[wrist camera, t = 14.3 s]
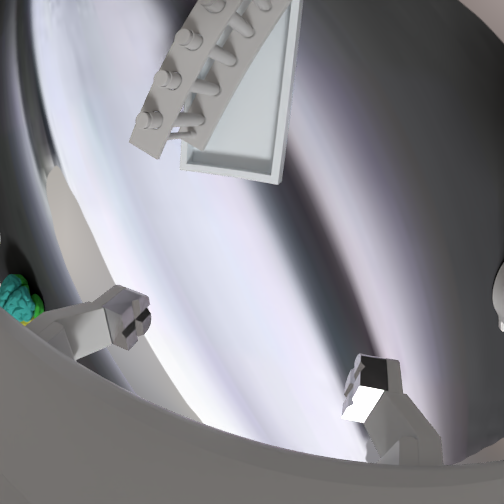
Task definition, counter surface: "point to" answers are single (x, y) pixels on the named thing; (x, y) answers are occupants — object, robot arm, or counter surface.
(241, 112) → the tray
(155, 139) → the test tube rack
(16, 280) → the brain model
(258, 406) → the counter surface
